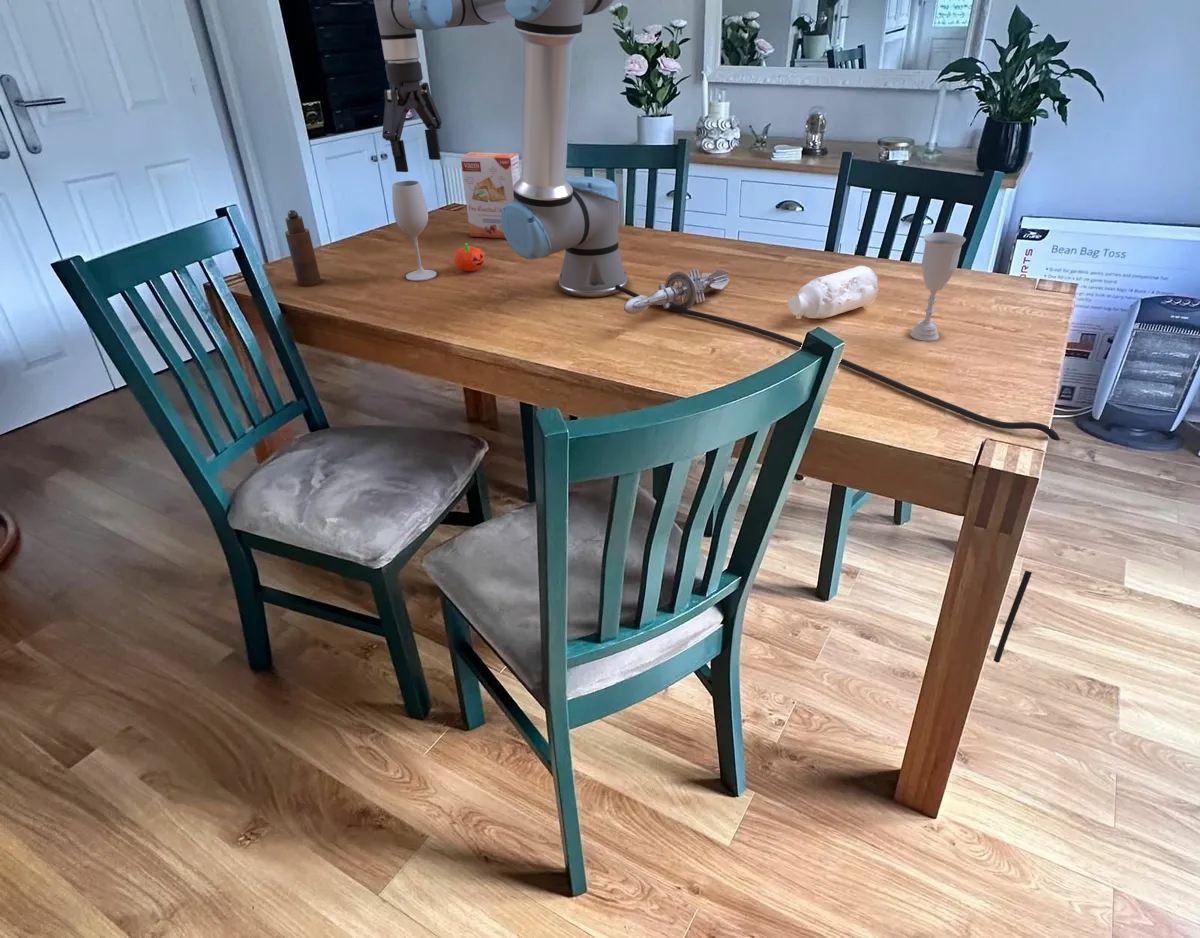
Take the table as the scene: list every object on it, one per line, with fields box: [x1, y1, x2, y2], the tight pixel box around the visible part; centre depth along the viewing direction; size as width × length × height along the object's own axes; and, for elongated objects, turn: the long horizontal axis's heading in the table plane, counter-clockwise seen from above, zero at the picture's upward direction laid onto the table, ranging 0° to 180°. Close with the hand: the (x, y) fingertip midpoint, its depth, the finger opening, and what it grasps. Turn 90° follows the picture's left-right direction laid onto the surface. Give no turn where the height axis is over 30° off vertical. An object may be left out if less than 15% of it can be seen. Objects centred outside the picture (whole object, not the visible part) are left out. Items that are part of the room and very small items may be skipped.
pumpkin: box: [453, 242, 485, 272], centre depth 183 cm, size 7×8×6 cm
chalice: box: [909, 231, 967, 342], centre depth 138 cm, size 7×7×18 cm
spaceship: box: [623, 268, 730, 315], centre depth 155 cm, size 8×35×8 cm
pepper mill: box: [284, 209, 322, 287], centre depth 176 cm, size 5×5×17 cm
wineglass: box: [391, 180, 438, 282], centre depth 176 cm, size 8×8×21 cm
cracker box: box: [460, 151, 521, 240], centre depth 202 cm, size 14×6×21 cm, turn 73°
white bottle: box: [787, 265, 880, 320], centre depth 150 cm, size 8×19×8 cm, turn 121°
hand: (419, 165), depth 176 cm, fingers open, 13 cm apart
